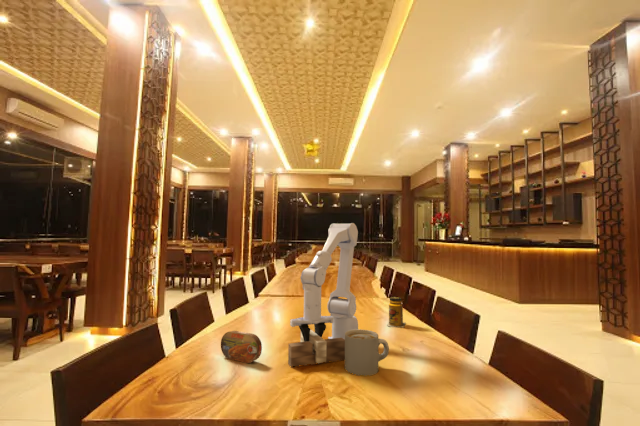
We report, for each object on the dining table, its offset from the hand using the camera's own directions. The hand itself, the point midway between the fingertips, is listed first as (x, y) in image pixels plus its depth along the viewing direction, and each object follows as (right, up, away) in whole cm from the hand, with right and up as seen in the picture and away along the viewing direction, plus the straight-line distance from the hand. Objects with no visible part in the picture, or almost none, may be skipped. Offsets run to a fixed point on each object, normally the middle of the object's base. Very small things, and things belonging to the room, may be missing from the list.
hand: (311, 346), depth 106 cm
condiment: (+37, -7, +39) cm, 54 cm away
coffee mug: (+17, -3, -10) cm, 19 cm away
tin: (-22, -3, -4) cm, 23 cm away
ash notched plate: (0, -2, -1) cm, 2 cm away
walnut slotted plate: (+2, -3, -5) cm, 6 cm away
